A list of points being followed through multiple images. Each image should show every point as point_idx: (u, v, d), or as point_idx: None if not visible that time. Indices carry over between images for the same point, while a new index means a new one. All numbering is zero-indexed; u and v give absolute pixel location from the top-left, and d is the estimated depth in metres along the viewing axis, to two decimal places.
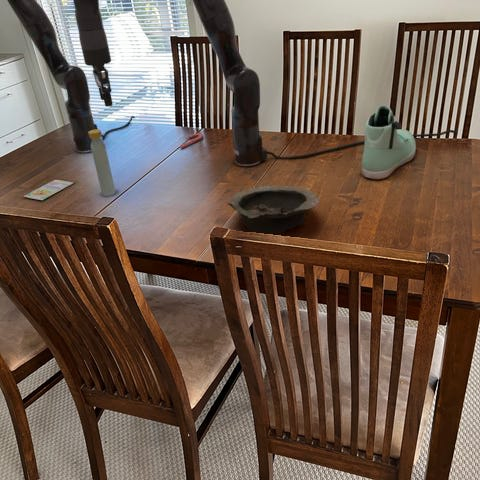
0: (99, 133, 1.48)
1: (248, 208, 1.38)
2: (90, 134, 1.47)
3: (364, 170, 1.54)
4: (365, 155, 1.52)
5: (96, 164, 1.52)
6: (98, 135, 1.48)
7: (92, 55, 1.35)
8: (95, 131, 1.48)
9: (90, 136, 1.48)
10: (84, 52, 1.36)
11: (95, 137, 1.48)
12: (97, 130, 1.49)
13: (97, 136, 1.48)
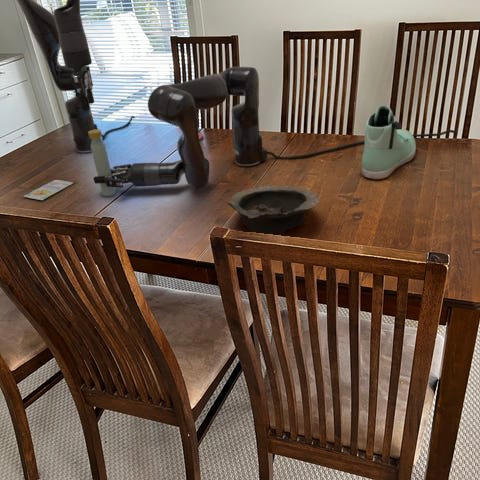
0: (99, 133, 1.48)
1: (248, 208, 1.38)
2: (90, 134, 1.47)
3: (364, 170, 1.54)
4: (365, 155, 1.52)
5: (96, 164, 1.52)
6: (98, 135, 1.48)
7: None
8: (95, 131, 1.48)
9: (90, 136, 1.48)
10: None
11: (95, 137, 1.48)
12: (97, 130, 1.49)
13: (97, 136, 1.48)
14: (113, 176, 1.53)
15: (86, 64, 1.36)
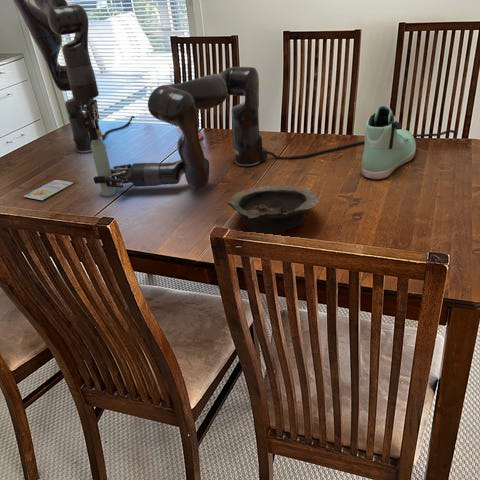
0: (99, 133, 1.48)
1: (248, 208, 1.38)
2: None
3: (364, 170, 1.54)
4: (365, 155, 1.52)
5: (96, 164, 1.52)
6: (98, 135, 1.48)
7: None
8: None
9: None
10: None
11: None
12: (97, 130, 1.49)
13: None
14: (113, 176, 1.53)
15: (93, 96, 1.41)
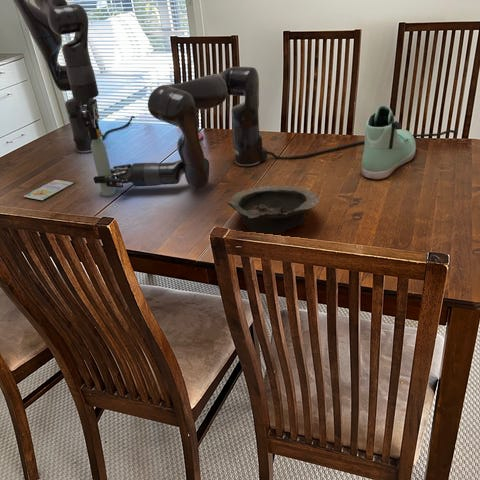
0: None
1: (248, 208, 1.38)
2: (100, 132, 1.48)
3: (364, 170, 1.54)
4: (365, 155, 1.52)
5: (96, 164, 1.52)
6: None
7: None
8: None
9: (100, 134, 1.49)
10: None
11: None
12: None
13: None
14: (113, 176, 1.53)
15: (93, 96, 1.41)
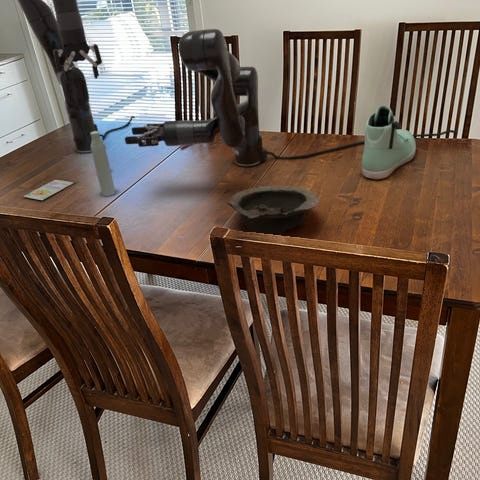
0: None
1: (248, 208, 1.38)
2: None
3: (364, 170, 1.54)
4: (365, 155, 1.52)
5: (96, 164, 1.52)
6: None
7: None
8: None
9: None
10: None
11: None
12: None
13: None
14: (146, 135, 1.44)
15: None
